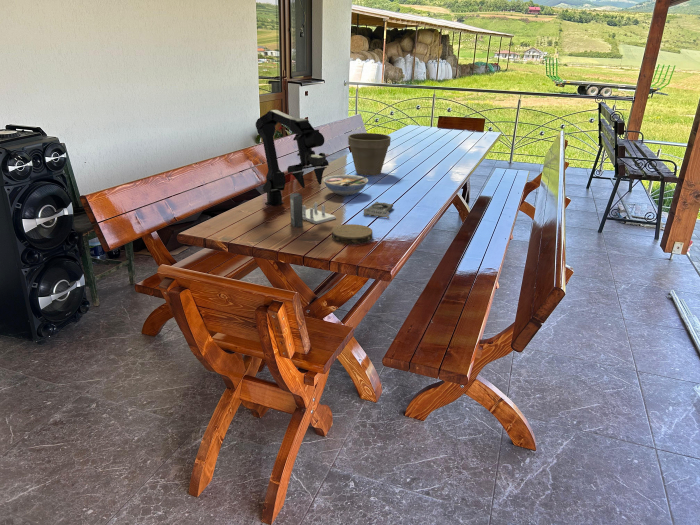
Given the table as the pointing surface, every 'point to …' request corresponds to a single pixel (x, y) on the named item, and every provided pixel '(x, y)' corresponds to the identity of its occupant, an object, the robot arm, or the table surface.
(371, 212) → the graphics card
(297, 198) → the block
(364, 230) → the brown flat round piece
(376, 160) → the plant pot
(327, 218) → the pin tray
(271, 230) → the table surface
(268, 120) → the robot arm
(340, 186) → the ramen bowl
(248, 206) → the table surface
